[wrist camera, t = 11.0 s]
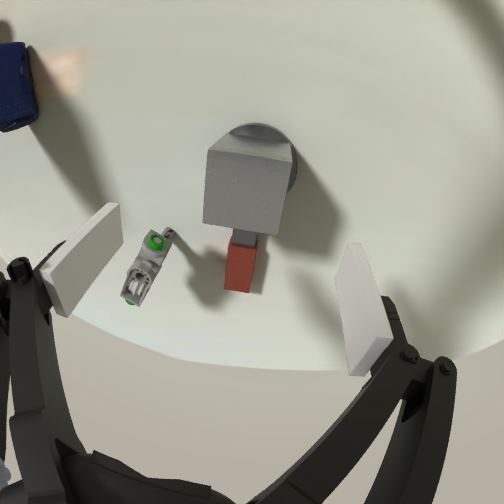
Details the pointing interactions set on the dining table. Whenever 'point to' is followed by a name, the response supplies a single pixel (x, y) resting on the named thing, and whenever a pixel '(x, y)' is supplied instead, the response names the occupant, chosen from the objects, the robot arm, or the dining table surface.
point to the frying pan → (243, 240)
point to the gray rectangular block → (246, 183)
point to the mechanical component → (146, 266)
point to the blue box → (15, 88)
